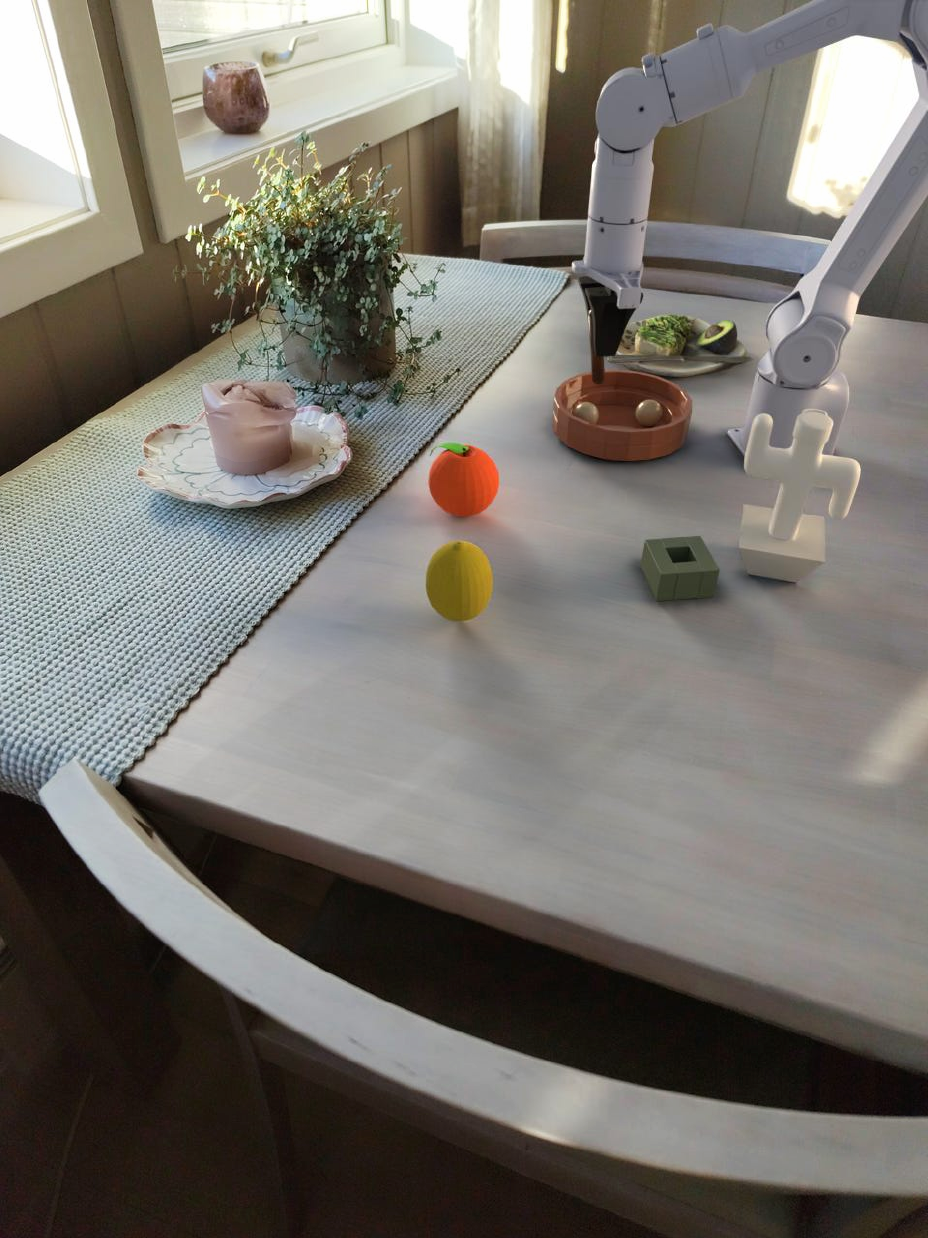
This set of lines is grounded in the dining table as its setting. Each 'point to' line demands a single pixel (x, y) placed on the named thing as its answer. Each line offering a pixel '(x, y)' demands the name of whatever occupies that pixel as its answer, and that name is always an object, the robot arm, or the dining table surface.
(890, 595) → the dining table surface
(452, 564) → the lemon
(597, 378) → the stick
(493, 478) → the clementine
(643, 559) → the holder
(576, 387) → the bowl
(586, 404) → the bead
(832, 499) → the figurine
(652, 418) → the bead
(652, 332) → the salad plate
